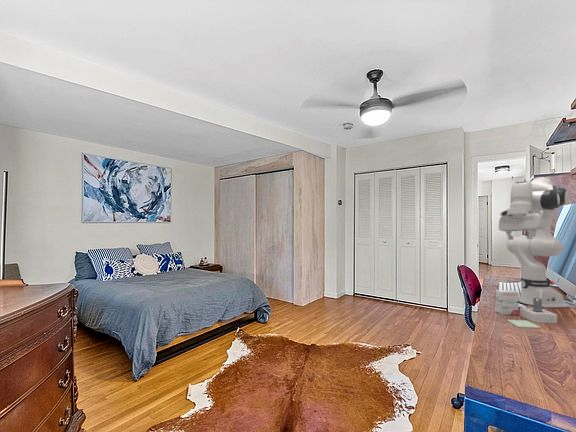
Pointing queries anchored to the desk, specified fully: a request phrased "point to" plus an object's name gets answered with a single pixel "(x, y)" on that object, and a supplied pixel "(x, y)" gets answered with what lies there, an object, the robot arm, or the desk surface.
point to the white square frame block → (538, 315)
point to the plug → (537, 304)
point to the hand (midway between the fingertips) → (519, 239)
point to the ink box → (507, 302)
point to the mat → (523, 324)
